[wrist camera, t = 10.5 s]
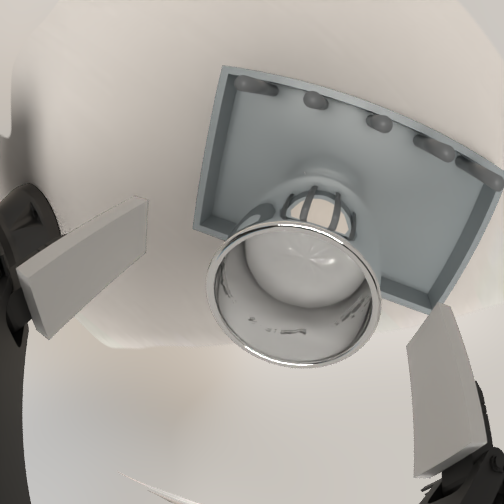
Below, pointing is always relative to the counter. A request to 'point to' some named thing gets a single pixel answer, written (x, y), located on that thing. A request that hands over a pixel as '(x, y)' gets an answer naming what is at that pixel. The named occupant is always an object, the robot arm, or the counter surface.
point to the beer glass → (301, 270)
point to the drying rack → (364, 166)
